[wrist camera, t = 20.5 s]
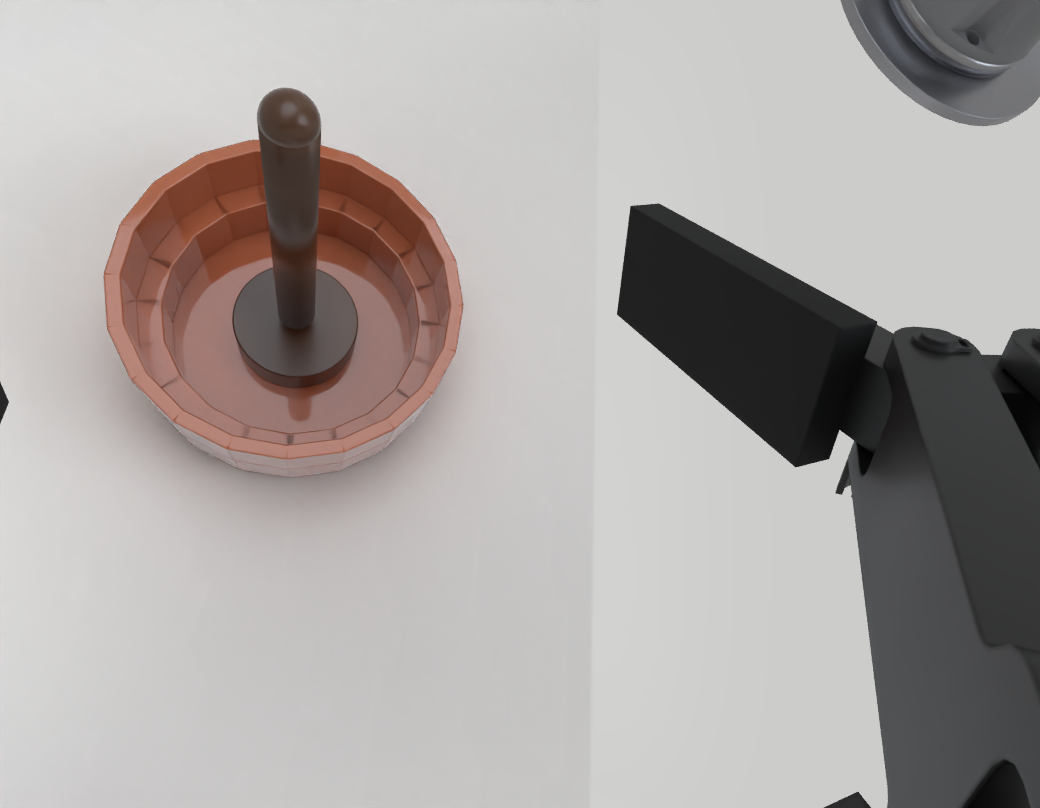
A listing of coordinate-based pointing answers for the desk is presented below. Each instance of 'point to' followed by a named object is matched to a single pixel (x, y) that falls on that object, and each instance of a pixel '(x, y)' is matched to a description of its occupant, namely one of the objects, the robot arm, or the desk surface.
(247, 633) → the desk surface
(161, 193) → the bowl
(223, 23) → the desk surface
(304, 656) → the desk surface
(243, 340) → the brown peg stand
